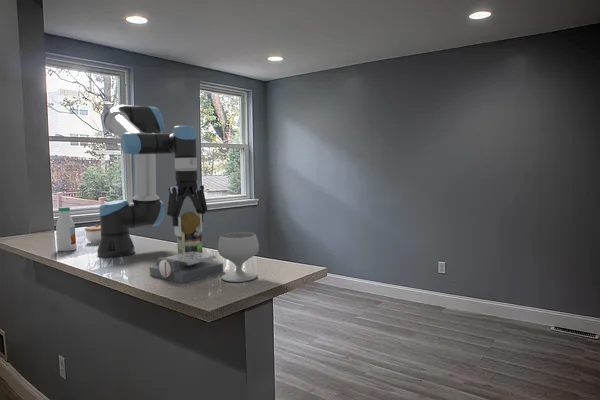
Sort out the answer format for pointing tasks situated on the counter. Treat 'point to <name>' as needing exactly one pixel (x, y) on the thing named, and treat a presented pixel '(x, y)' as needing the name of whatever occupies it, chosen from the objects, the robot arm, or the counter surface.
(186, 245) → the coffee can
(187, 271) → the scale base
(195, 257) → the platform
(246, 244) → the chalice
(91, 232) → the lidded jar
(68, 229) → the milk bottle
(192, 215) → the potato
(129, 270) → the counter surface
